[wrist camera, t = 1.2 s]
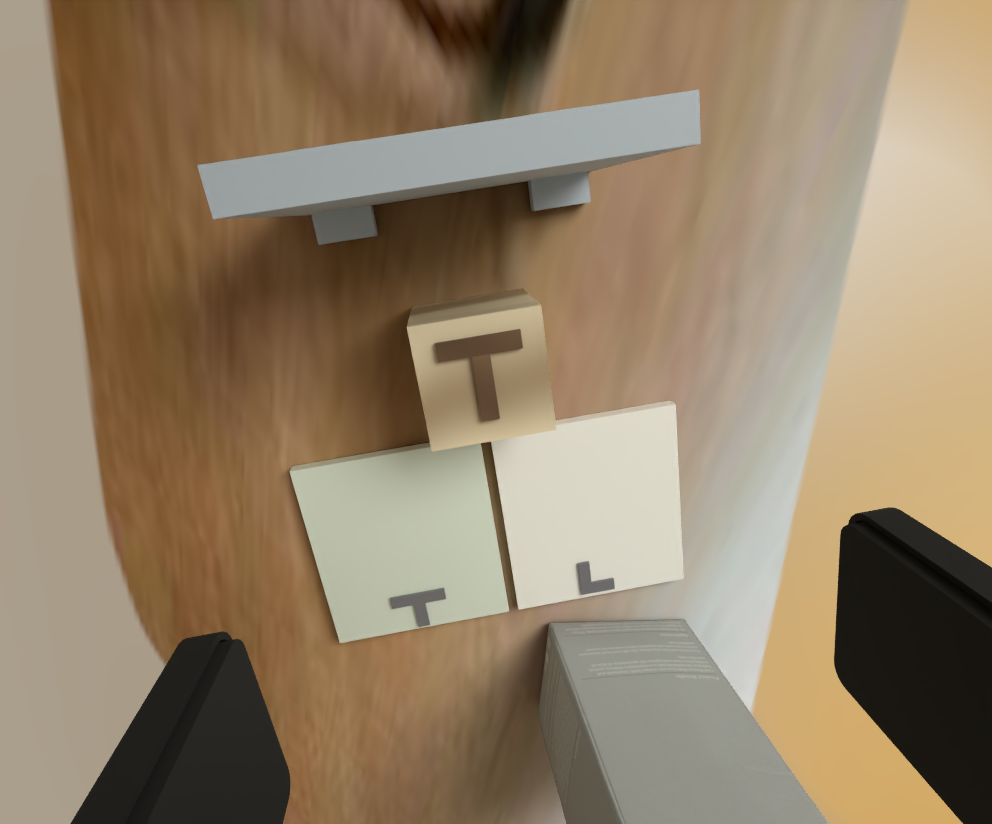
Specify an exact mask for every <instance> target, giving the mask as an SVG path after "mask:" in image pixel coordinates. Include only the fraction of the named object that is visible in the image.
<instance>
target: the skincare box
mask: <svg viewBox="0 0 992 824" xmlns="http://www.w3.org/2000/svg"><path fill="white" fill-rule="evenodd" d="M538 716H539V720H540V724H541V728H542V732H543V736H544V740H545V744H546V748H547V751H548V755H549V759H550V763H551V767H552V770H553V774H554V778H555V782H556V785H557V789H558V793H559V797H560V801H561V804H562V808H563V812H564V816H565V820H566V823H567V824H829V823H828V822H827V821H826V819H825V818H824V816H823V815H822V814H821V812H820V811H819V809H818V808H817V807H816V805H815V803H814V802H813V801H812V800H811V798H810V797H809V795H808V794H807V793H806V792H805V790H804V789H803V787H802V786H801V785H800V783H799V781H798V780H797V779H796V777H795V776H794V774H793V773H792V771H791V770H790V769H789V767H788V766H787V764H786V763H785V761H784V760H783V759H782V757H781V756H780V754H779V753H778V752H777V750H776V749H775V747H774V746H773V744H772V743H771V741H770V740H769V738H768V737H767V736H766V734H765V733H764V732H763V730H762V729H761V727H760V726H759V724H758V723H757V722H756V720H755V719H754V717H753V716H752V714H751V713H750V712H749V710H748V709H747V707H746V706H745V705H744V703H743V702H742V700H741V699H740V697H739V696H738V695H737V693H736V692H735V690H734V689H733V688H732V686H731V685H730V683H729V682H728V680H727V679H726V678H725V676H724V675H723V673H722V672H721V670H720V669H719V668H718V666H717V665H716V663H715V662H714V660H713V659H712V658H711V656H710V655H709V653H708V652H707V651H706V649H705V648H704V646H703V645H702V644H701V642H700V641H699V640H698V638H697V637H696V635H695V634H694V632H693V631H692V630H691V628H690V627H689V625H688V624H687V622H686V621H685V620H647V621H608V622H566V623H550V624H549V628H548V638H547V646H546V654H545V663H544V671H543V679H542V687H541V696H540V704H539V713H538Z"/></svg>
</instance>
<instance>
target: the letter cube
mask: <svg viewBox="0 0 992 824" xmlns="http://www.w3.org/2000/svg"><path fill="white" fill-rule="evenodd" d="M407 331H408V336H409V341H410V346H411V351H412V356H413V361H414V366H415V371H416V376H417V381H418V386H419V391H420V396H421V401H422V406H423V411H424V416H425V420H426V425H427V430H428V435H429V440H430V445H431V450H432V452H433V451H439V450H445V449H450V448H456V447H462V446H467V445H473V444H479V443H485V442H490V441H496V440H502V439H507V438H513V437H519V436H524V435H530V434H536V433H542V432H547V431H553V430H556V422H555V414H554V406H553V398H552V390H551V382H550V373H549V365H548V357H547V349H546V341H545V332H544V324H543V316H542V308H541V304H540V303H538V302H537V301H536V300H535V299H534V298H533V297H532V296H530V295H529V294H528V293H527V292H526V291H525V290H524V289H523V288H522V289H516V290H510V291H504V292H498V293H492V294H486V295H480V296H474V297H468V298H461V299H455V300H449V301H443V302H437V303H431V304H425V305H419V306H413V307H412V308H411V312H410V316H409V320H408V324H407Z"/></svg>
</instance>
